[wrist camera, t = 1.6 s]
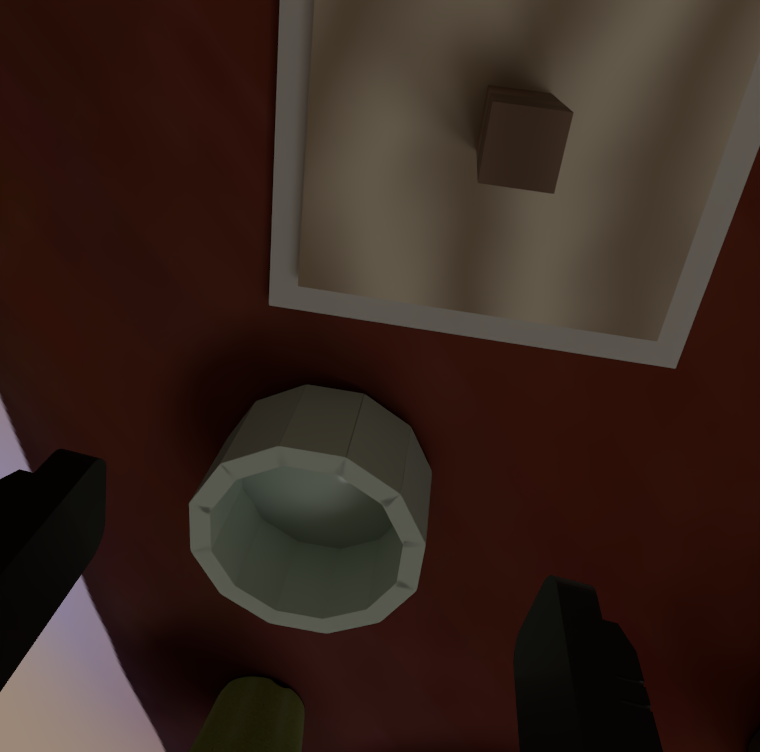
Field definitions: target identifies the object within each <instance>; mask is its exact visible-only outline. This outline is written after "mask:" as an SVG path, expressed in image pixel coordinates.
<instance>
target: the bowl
mask: <svg viewBox="0 0 760 752" xmlns="http://www.w3.org/2000/svg"><path fill="white" fill-rule="evenodd" d="M431 478H432V470H431V468H430V466H429V464H428V462H427V460H426V458H425V456H424V453H423V451H422V449H421V447H420V445H419V443H418V441H417V438H416V436H415V434H414V432H413V430H412V428H411V426H409V425H408V424H407V423H405V422H404V421H402V420H401V419H400V418H398V417H397V416H395V415H394V414H392V413H391V412H390V411H388V410H387V409H385V408H384V407H383V406H381V405H380V404H378V403H377V402H375V401H374V400H373V399H371V398H370V397H368V396H367V395H366V394H363V393H357V392H351V391H345V390H339V389H333V388H326V387H320V386H314V385H308V384H307V385H303V386H300V387H297V388H294V389H291V390H288V391H285V392H282V393H279V394H276V395H273V396H270V397H267V398H264V399H261V400H258V401H256V402H255V403H254V404H253V405H252V407H251V408H250V409H249V411H248V412H247V413H246V415H245V416H244V417H243V418H242V420H241V421H240V422H239V424H238V425H237V426H236V427H235V429H234V430H233V431H232V433H231V434H230V435H229V437H228V438H227V440H226V441H225V443H224V445H223V446H222V448H221V450H220V452H219V453H218V455H217V457H216V458H215V460H214V462H213V463H212V465H211V467H210V469H209V470H208V472H207V474H206V475H205V477H204V479H203V481H202V482H201V484H200V486H199V487H198V489H197V491H196V492H195V494H194V496H193V498H192V499H191V501H190V503H189V517H190V547H191V552H192V553H193V555H194V556H195V558H196V559H197V561H198V562H199V564H200V565H201V566H202V568H203V569H204V571H205V572H206V574H207V575H208V577H209V578H210V579H211V581H212V582H213V584H214V585H215V587H216V588H217V589H218V591H219V592H220V593H221V594H222V595H223V596H225V597H227V598H228V599H230V600H232V601H233V602H235V603H237V604H238V605H240V606H242V607H243V608H245V609H247V610H248V611H250V612H252V613H253V614H255V615H257V616H258V617H260V618H262V619H263V620H265V621H267V622H268V623H271V624H276V625H282V626H287V627H293V628H298V629H304V630H310V631H315V632H321V633H332V632H337V631H341V630H346V629H351V628H356V627H360V626H365V625H370V624H375V623H379V622H381V621H382V620H383V619H384V618H385V617H387V616H388V615H389V614H390V613H391V612H392V611H394V610H395V609H396V608H397V607H398V606H399V605H401V604H402V603H403V602H404V601H405V600H406V599H408V598H409V597H410V596H411V595H412V594H413V593H415V592H416V590H417V586H418V581H419V576H420V571H421V566H422V561H423V556H424V551H425V546H426V535H427V524H428V512H429V501H430V489H431Z"/></svg>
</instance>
